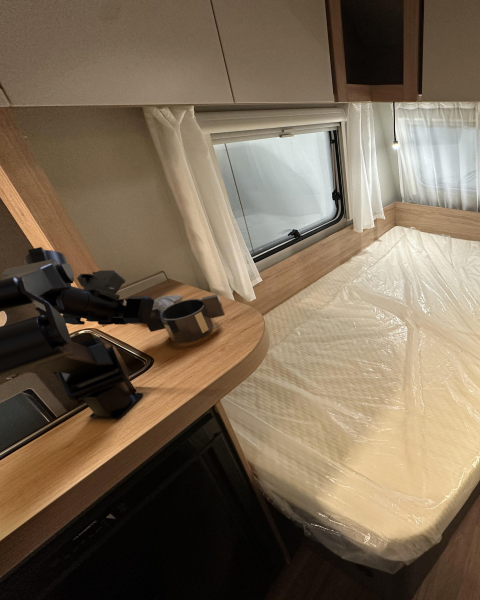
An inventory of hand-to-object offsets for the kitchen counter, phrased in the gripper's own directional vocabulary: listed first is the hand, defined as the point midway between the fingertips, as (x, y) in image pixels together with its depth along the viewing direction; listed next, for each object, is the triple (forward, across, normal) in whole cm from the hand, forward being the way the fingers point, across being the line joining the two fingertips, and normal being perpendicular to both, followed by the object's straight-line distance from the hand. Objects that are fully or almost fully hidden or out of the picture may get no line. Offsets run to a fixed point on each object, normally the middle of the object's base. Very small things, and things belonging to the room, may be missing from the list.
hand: (140, 317), depth 79 cm
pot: (+8, -8, +2) cm, 12 cm away
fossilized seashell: (+17, +8, -4) cm, 19 cm away
